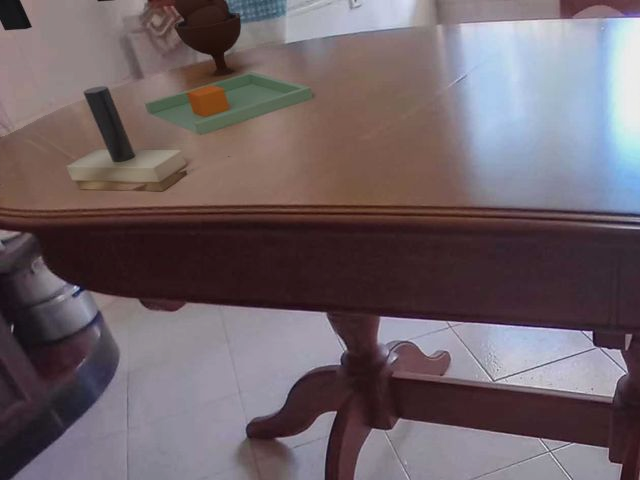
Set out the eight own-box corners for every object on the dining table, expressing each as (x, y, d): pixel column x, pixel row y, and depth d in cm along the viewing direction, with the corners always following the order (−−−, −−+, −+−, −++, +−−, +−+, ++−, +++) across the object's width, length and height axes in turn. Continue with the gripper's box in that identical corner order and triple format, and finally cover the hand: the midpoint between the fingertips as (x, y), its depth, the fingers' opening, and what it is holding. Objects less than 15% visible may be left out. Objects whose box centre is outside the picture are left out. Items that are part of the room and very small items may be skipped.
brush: (76, 190, 85) (33, 97, 78) (106, 172, 89) (68, 83, 82) (163, 192, 81) (125, 96, 75) (190, 173, 86) (156, 81, 79)
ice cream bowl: (248, 84, 118) (219, -15, 109) (183, 90, 118) (150, -8, 110) (264, 67, 126) (238, -26, 118) (203, 73, 127) (174, -19, 118)
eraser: (193, 112, 103) (186, 92, 102) (217, 105, 105) (211, 84, 104) (205, 117, 101) (198, 96, 99) (230, 109, 103) (223, 88, 101)
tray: (150, 119, 106) (144, 102, 105) (255, 87, 116) (251, 71, 114) (203, 141, 95) (197, 123, 94) (314, 104, 105) (310, 87, 103)
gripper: (-143, -266, 51) (3, 41, 64) (90, -245, 70) (167, -12, 83) (-215, -250, 53) (-60, 45, 66) (30, -234, 72) (115, -8, 85)
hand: (67, 14), depth 74 cm, fingers open, 13 cm apart
